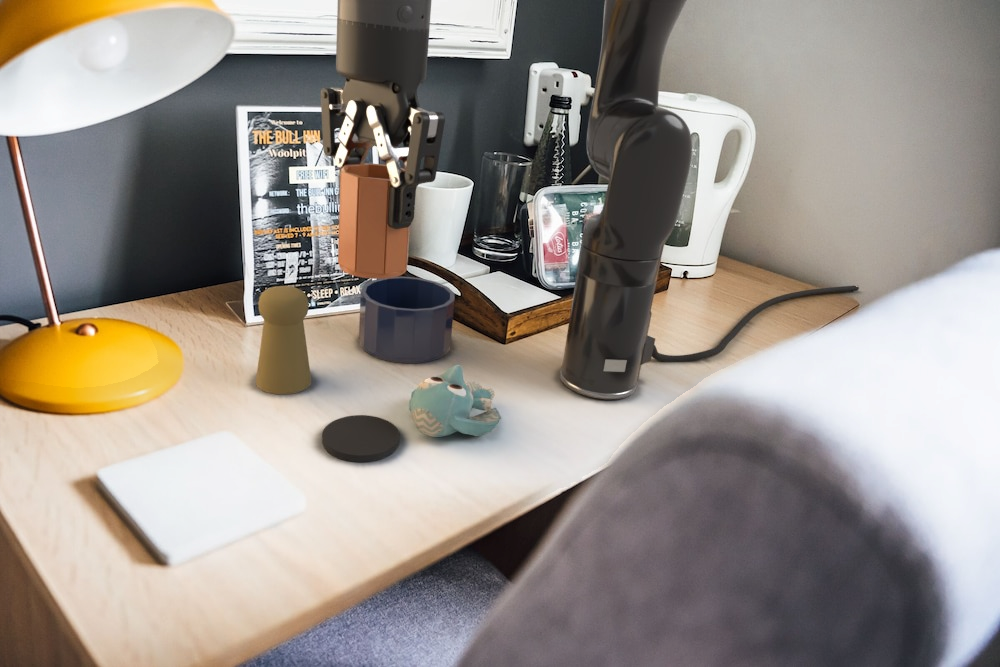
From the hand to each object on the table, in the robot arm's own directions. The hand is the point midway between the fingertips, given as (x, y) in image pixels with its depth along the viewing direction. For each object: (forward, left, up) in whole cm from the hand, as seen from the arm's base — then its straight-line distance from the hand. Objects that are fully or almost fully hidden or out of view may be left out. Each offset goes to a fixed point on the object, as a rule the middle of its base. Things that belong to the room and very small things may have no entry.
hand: (374, 216), depth 70 cm
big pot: (-18, -14, -23) cm, 32 cm away
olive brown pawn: (0, -14, -23) cm, 27 cm away
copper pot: (0, 0, -5) cm, 5 cm away
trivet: (+1, +1, -23) cm, 23 cm away
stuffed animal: (-9, +4, -23) cm, 25 cm away
